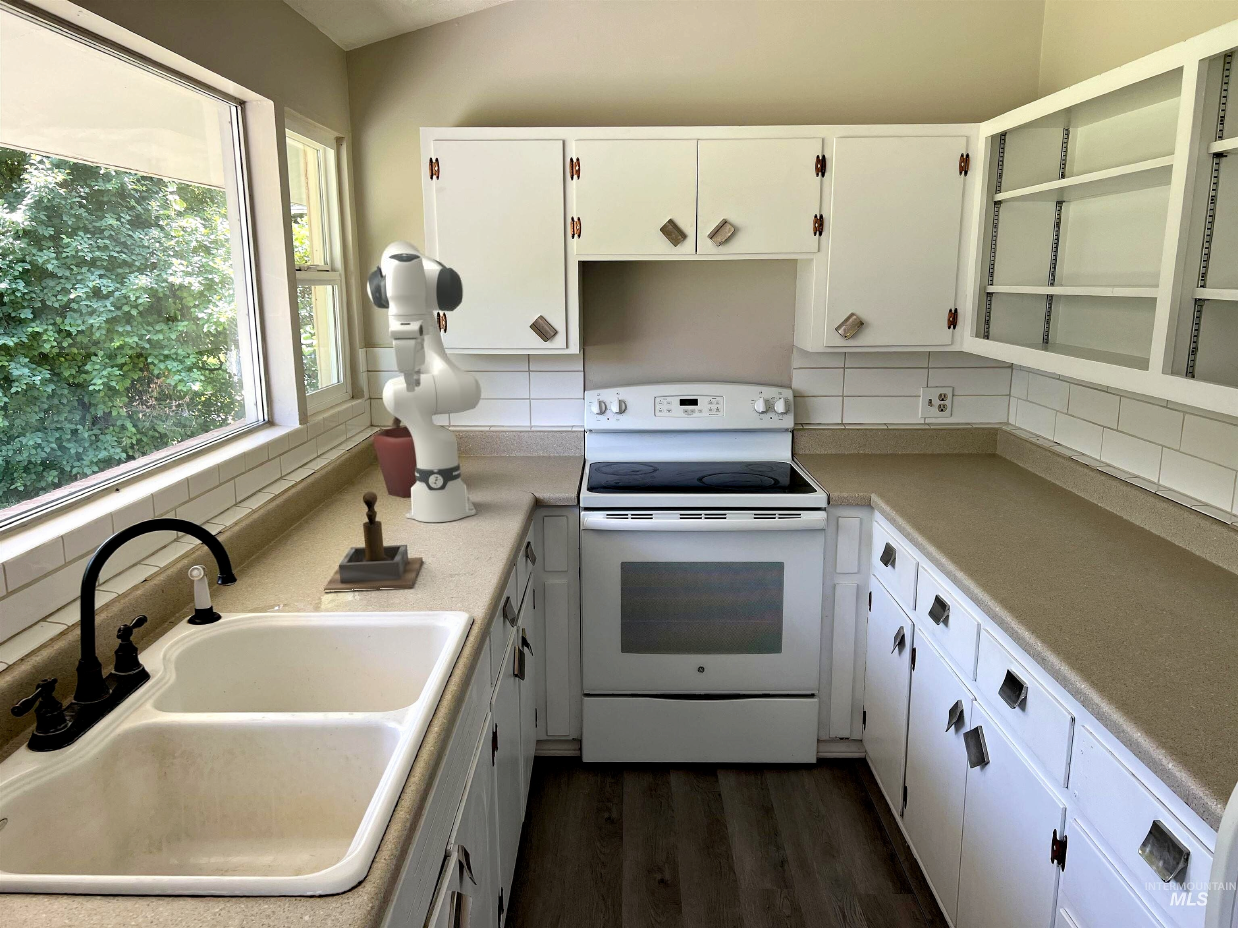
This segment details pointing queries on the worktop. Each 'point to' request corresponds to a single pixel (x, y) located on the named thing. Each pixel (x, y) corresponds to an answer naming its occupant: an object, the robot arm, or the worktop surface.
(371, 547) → the wooden pepper mill
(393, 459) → the bucket
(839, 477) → the worktop surface
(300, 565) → the worktop surface
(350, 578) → the holder board
